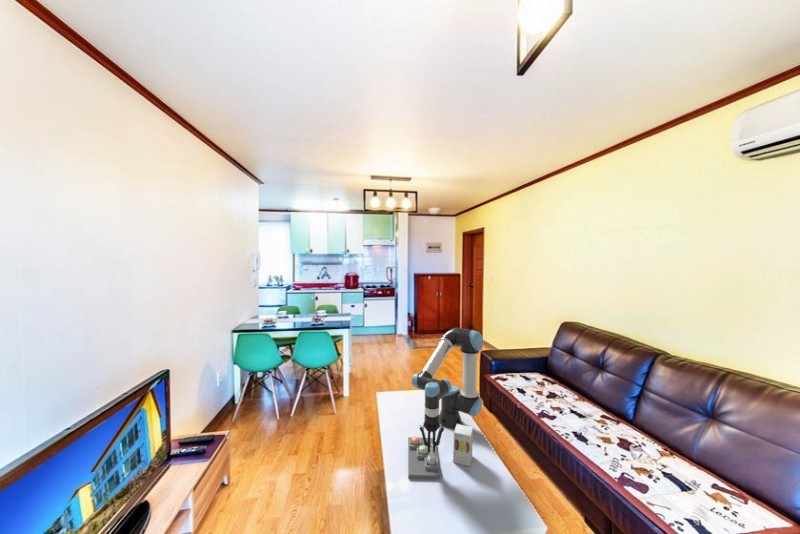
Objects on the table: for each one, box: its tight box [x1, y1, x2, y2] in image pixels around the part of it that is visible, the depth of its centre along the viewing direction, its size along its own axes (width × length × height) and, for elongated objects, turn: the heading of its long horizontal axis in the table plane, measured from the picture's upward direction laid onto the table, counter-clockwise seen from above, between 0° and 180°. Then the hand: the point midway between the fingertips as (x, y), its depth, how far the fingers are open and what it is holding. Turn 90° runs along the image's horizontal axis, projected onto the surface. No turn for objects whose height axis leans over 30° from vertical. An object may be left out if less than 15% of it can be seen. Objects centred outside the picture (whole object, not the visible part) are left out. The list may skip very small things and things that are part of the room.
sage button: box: [419, 445, 427, 455], centre depth 163 cm, size 4×4×4 cm
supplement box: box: [452, 424, 474, 467], centre depth 162 cm, size 10×9×17 cm
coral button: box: [411, 435, 420, 445], centre depth 171 cm, size 4×4×4 cm
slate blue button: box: [427, 455, 436, 465], centre depth 154 cm, size 4×4×4 cm
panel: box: [407, 436, 441, 480], centre depth 163 cm, size 16×30×4 cm, turn 179°
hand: (431, 457), depth 154 cm, fingers closed
